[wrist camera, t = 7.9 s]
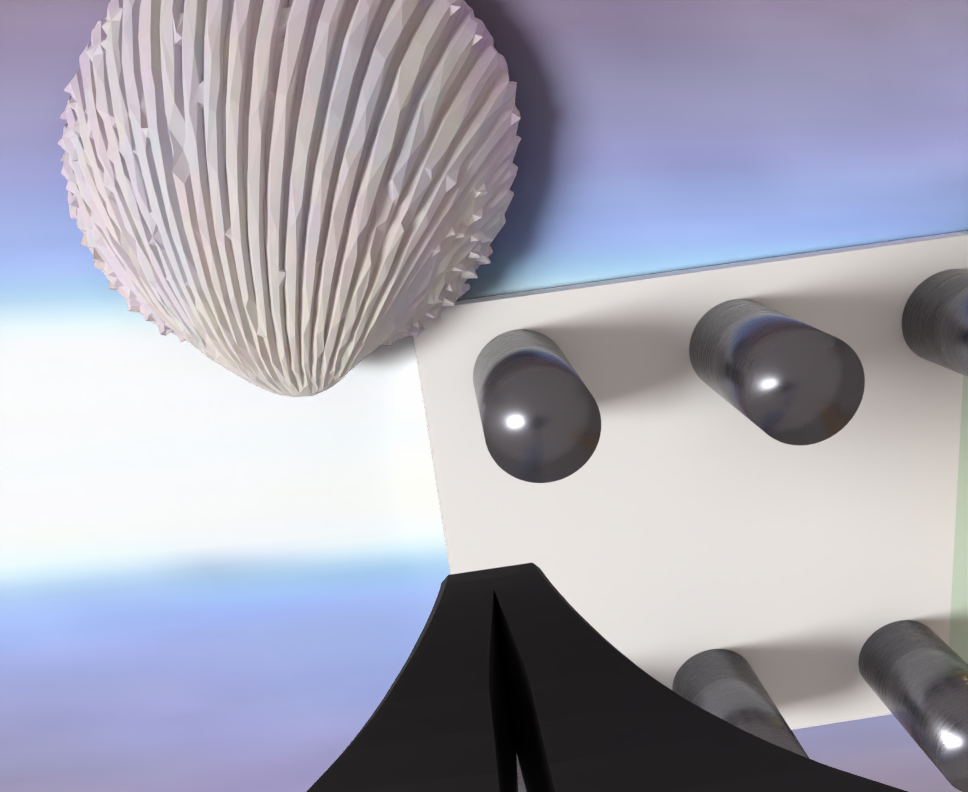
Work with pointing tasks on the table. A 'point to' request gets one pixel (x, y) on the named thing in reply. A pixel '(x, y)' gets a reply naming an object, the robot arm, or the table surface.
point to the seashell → (290, 172)
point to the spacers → (786, 418)
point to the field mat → (726, 475)
